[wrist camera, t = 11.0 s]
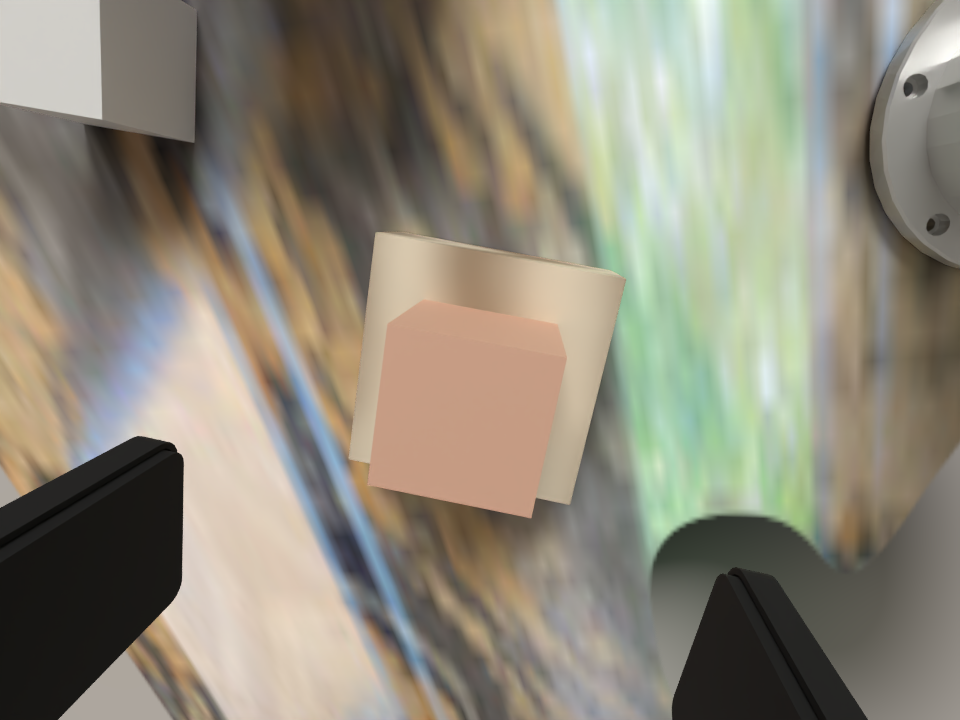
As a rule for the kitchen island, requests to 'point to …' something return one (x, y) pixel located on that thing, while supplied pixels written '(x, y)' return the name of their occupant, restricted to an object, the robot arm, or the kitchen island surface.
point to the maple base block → (501, 289)
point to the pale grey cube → (102, 63)
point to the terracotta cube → (466, 406)
